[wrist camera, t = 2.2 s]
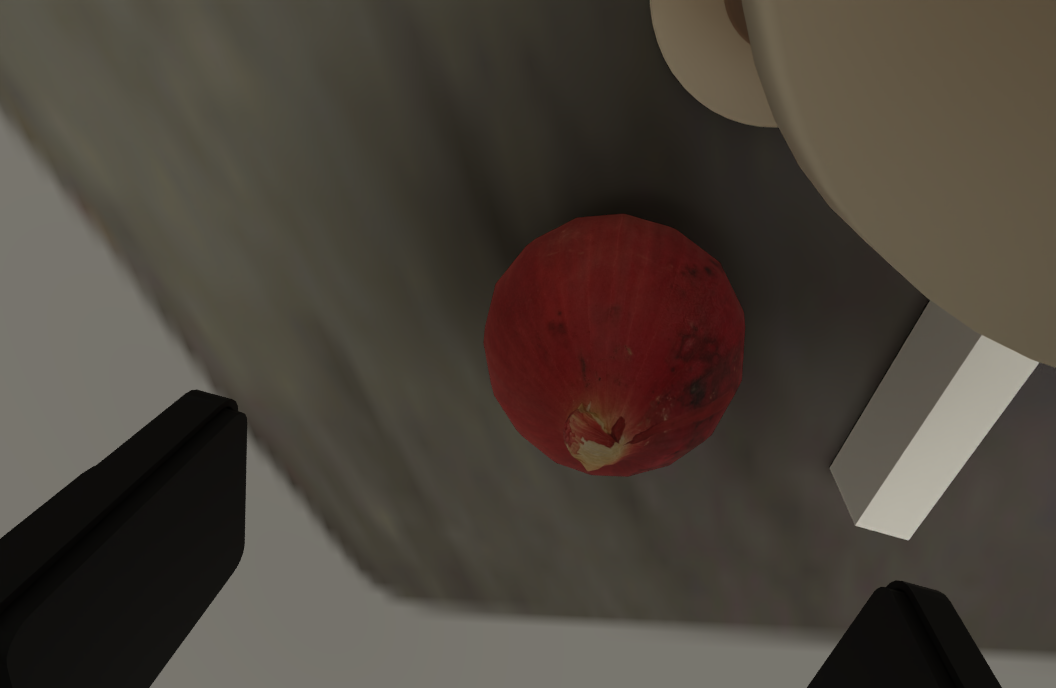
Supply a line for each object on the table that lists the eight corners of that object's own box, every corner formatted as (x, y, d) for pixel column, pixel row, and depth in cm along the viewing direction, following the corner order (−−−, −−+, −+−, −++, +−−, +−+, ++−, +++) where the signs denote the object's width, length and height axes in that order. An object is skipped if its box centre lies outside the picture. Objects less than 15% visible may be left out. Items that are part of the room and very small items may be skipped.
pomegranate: (724, 171, 16) (799, 289, 9) (720, 369, 18) (776, 585, 11) (501, 191, 17) (406, 310, 10) (527, 375, 19) (466, 575, 12)
